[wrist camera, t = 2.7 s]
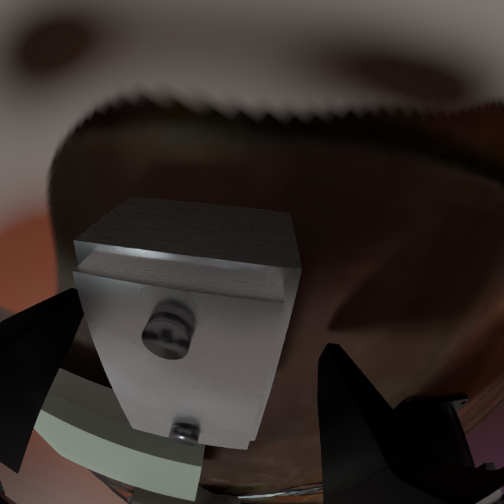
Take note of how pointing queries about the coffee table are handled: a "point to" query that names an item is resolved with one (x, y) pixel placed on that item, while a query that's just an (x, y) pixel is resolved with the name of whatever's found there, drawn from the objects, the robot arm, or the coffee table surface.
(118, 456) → the stand
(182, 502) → the digital clock
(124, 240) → the block
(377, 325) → the coffee table surface
